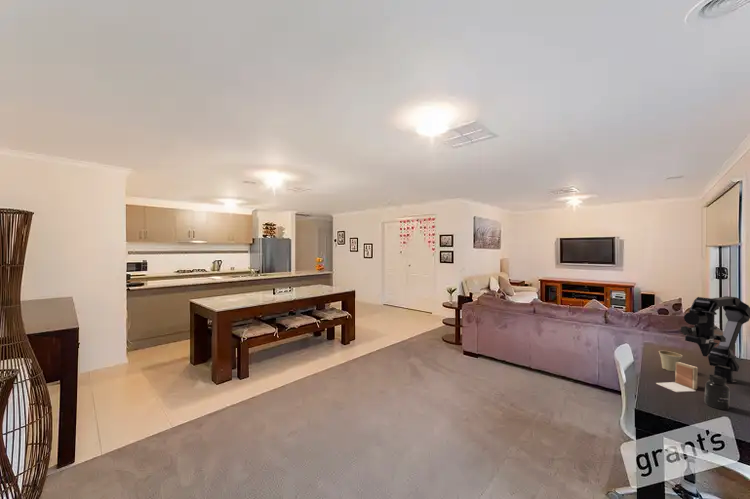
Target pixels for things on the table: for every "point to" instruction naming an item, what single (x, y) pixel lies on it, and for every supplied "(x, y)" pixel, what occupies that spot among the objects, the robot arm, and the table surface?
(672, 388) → the felt mat
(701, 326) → the robot arm
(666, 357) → the flower pot
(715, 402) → the supplement bottle
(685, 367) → the maple tile
